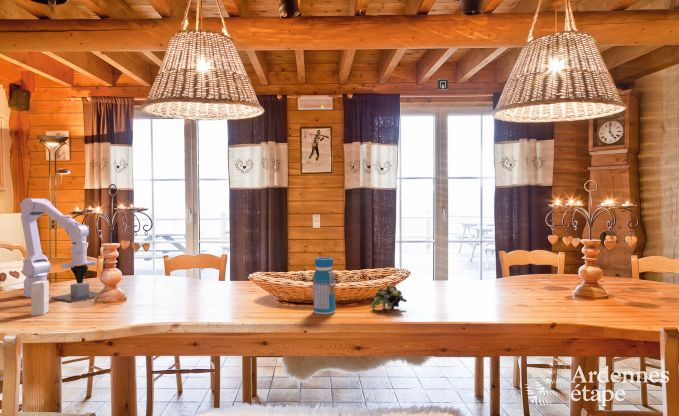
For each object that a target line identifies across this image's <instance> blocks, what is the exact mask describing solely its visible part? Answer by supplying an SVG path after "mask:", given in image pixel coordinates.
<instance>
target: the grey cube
mask: <svg viewBox="0 0 679 416" xmlns="http://www.w3.org/2000/svg"><path fill="white" fill-rule="evenodd" d="M69 285H70V286H69V287H70V294H71V296H74V297H81V296H86V295H89V291H90V283H88V282H87V283H86V282H83V283H73V284H69Z"/></svg>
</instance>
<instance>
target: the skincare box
mask: <svg viewBox="0 0 679 416" xmlns="http://www.w3.org/2000/svg"><path fill="white" fill-rule="evenodd" d="M49 293H50V280H48V279H47V280H46V281H36V282H34V283H32V284H31V297H30V298H31V301H30V303H31V304H30V306H31V308H30V310H31V311H30V315H31V316H32V317H33V316H34V317H36V316H37V317H38V315H39V316H44V315H46V314H47V313H48V312H49V311H50V297H49V296H50V295H49Z"/></svg>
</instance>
